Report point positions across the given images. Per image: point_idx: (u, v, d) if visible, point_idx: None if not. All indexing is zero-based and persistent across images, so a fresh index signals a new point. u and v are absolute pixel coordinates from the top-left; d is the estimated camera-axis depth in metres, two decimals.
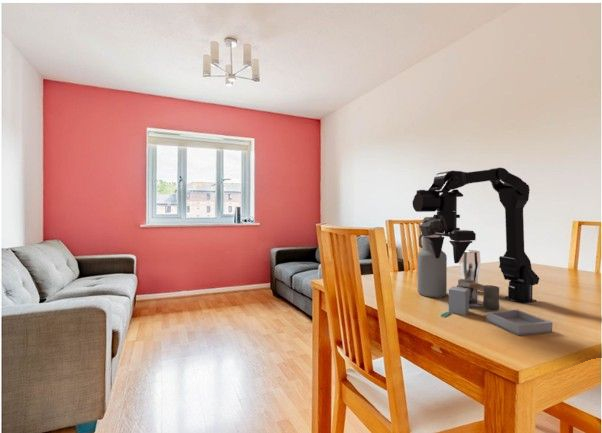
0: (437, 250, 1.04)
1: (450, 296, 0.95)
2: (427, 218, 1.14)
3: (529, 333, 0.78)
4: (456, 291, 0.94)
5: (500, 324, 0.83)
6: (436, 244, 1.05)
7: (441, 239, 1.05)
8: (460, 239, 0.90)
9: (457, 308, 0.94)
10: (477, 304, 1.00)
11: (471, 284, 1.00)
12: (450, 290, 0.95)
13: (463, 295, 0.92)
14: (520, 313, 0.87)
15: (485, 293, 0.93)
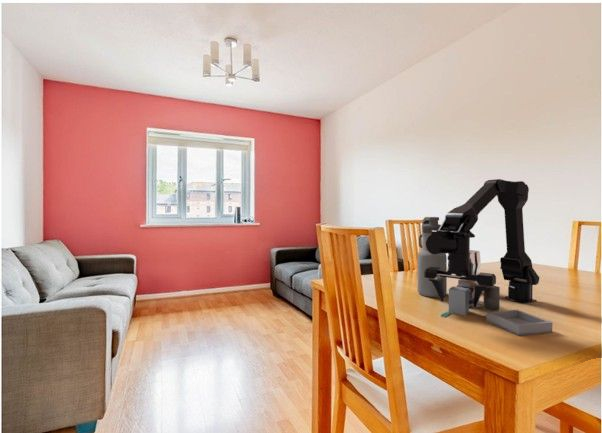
0: None
1: (450, 296, 0.95)
2: (427, 218, 1.14)
3: (529, 333, 0.78)
4: (456, 291, 0.94)
5: (500, 324, 0.83)
6: None
7: None
8: None
9: (457, 308, 0.94)
10: (477, 304, 1.00)
11: (471, 284, 1.00)
12: (450, 290, 0.95)
13: (463, 295, 0.92)
14: (520, 313, 0.87)
15: (485, 293, 0.93)
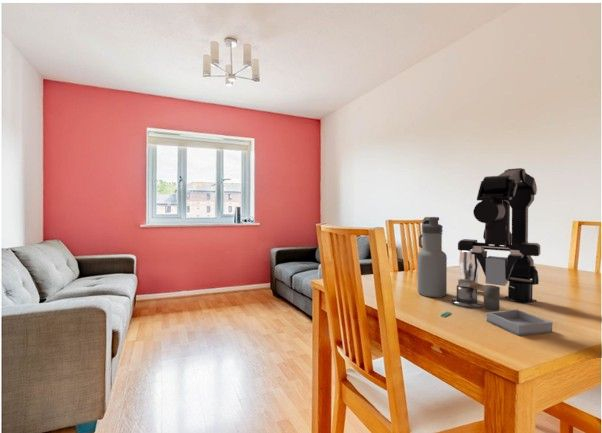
0: None
1: (488, 265, 0.86)
2: (427, 218, 1.14)
3: (529, 333, 0.78)
4: (494, 260, 0.85)
5: (500, 324, 0.83)
6: None
7: (508, 258, 0.83)
8: None
9: (496, 279, 0.85)
10: (477, 304, 1.00)
11: (471, 284, 1.00)
12: (487, 259, 0.86)
13: (503, 264, 0.84)
14: (520, 313, 0.87)
15: (485, 293, 0.93)
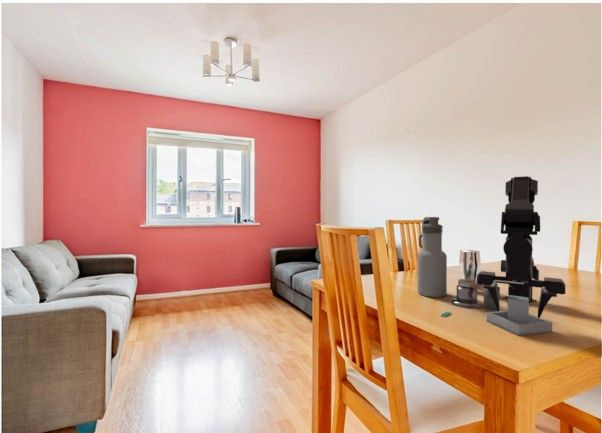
0: (538, 307, 0.81)
1: (510, 307, 0.82)
2: (427, 218, 1.14)
3: (529, 333, 0.78)
4: (517, 301, 0.81)
5: (500, 324, 0.83)
6: (540, 299, 0.81)
7: (541, 296, 0.79)
8: None
9: (519, 321, 0.81)
10: (477, 304, 1.00)
11: (471, 284, 1.00)
12: (509, 300, 0.82)
13: (526, 306, 0.80)
14: None
15: (485, 293, 0.93)
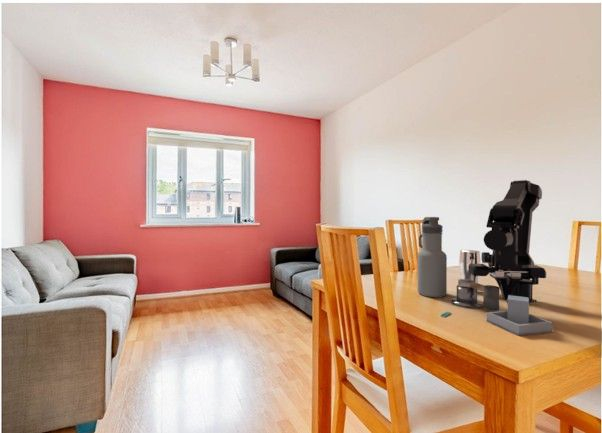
0: None
1: (510, 307, 0.82)
2: (427, 218, 1.14)
3: (529, 333, 0.78)
4: (517, 301, 0.81)
5: (500, 324, 0.83)
6: (506, 283, 0.94)
7: (510, 280, 0.91)
8: None
9: (519, 321, 0.81)
10: (477, 304, 1.00)
11: (471, 284, 1.00)
12: (509, 300, 0.82)
13: (526, 306, 0.80)
14: None
15: (485, 293, 0.93)
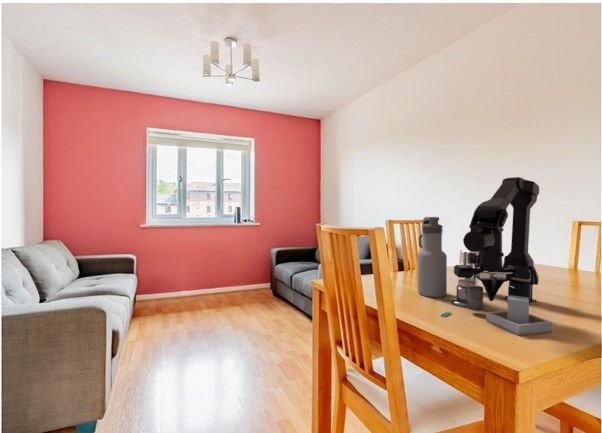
0: None
1: (510, 307, 0.82)
2: (427, 218, 1.14)
3: (529, 333, 0.78)
4: (517, 301, 0.81)
5: (500, 324, 0.83)
6: (491, 285, 0.93)
7: (495, 282, 0.90)
8: (454, 272, 0.97)
9: (519, 321, 0.81)
10: None
11: (466, 284, 1.00)
12: (509, 300, 0.82)
13: (526, 306, 0.80)
14: None
15: None
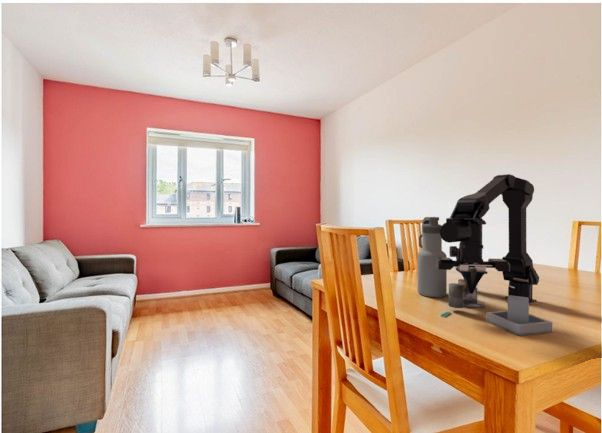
0: None
1: (510, 307, 0.82)
2: (427, 218, 1.14)
3: (529, 333, 0.78)
4: (517, 301, 0.81)
5: (500, 324, 0.83)
6: (472, 277, 0.93)
7: (475, 274, 0.91)
8: (435, 264, 0.97)
9: (519, 321, 0.81)
10: (477, 304, 1.00)
11: None
12: (509, 300, 0.82)
13: (526, 306, 0.80)
14: None
15: None
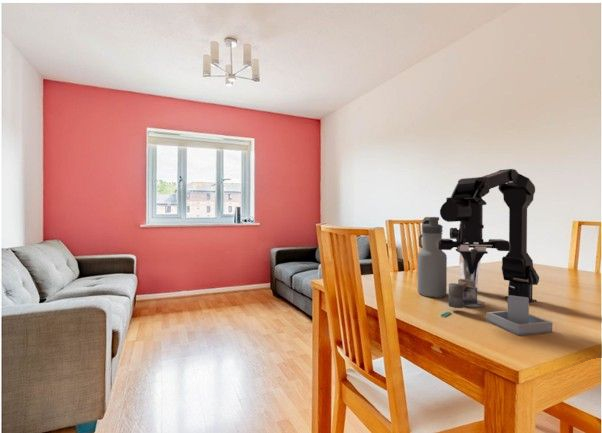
0: None
1: (510, 307, 0.82)
2: (427, 218, 1.14)
3: (529, 333, 0.78)
4: (517, 301, 0.81)
5: (500, 324, 0.83)
6: (472, 258, 0.93)
7: (475, 254, 0.90)
8: (435, 246, 0.97)
9: (519, 321, 0.81)
10: (477, 304, 1.00)
11: None
12: (509, 300, 0.82)
13: (526, 306, 0.80)
14: None
15: None
